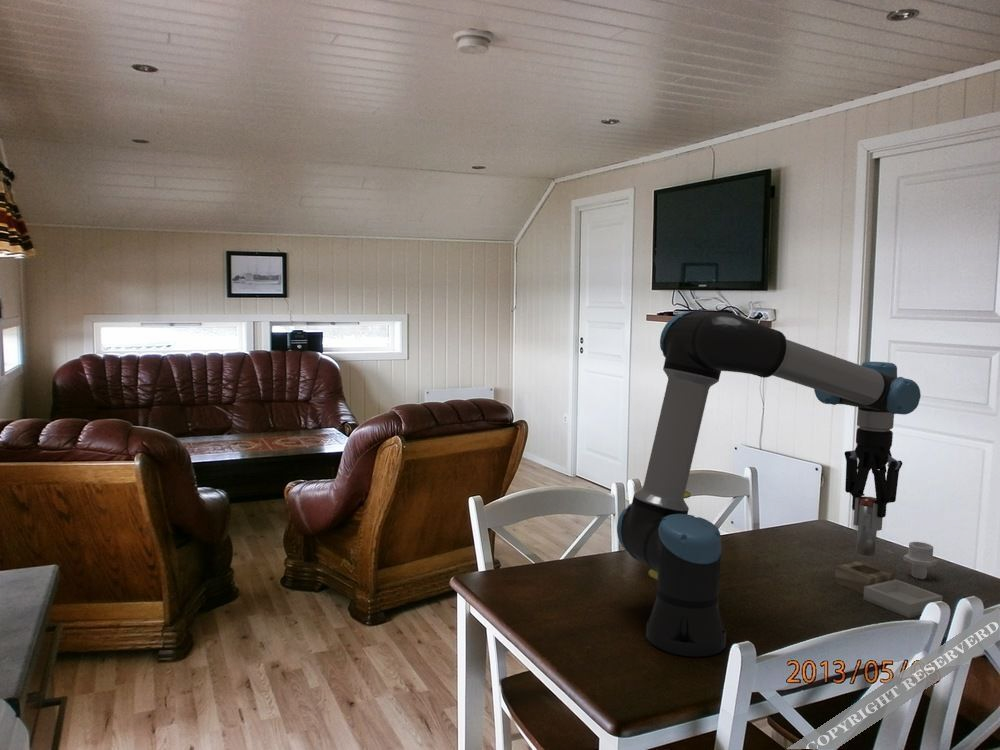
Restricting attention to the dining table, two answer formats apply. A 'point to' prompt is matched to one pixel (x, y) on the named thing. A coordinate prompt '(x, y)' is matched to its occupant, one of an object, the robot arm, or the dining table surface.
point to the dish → (900, 597)
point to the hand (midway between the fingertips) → (867, 527)
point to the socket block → (861, 575)
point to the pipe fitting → (920, 558)
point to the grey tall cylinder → (866, 528)
